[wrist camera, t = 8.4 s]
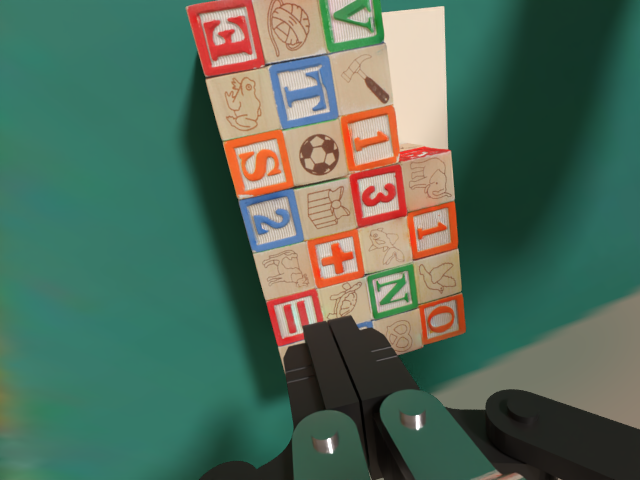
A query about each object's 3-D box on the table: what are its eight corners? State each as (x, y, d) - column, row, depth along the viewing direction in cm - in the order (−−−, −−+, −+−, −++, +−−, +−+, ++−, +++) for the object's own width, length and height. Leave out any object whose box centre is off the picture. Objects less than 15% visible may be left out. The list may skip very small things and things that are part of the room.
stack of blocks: (179, 1, 17) (436, -43, 18) (194, 34, 23) (388, -2, 24) (289, 390, 24) (470, 333, 25) (279, 337, 29) (426, 294, 31)
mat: (441, 8, 25) (444, 6, 25) (450, 322, 33) (452, 325, 32) (229, 30, 23) (228, 28, 23) (290, 360, 31) (291, 363, 30)
